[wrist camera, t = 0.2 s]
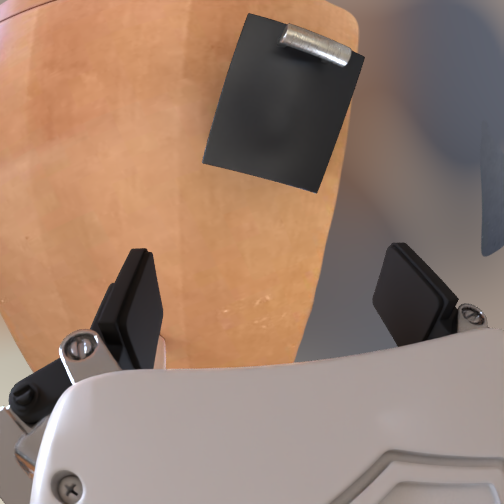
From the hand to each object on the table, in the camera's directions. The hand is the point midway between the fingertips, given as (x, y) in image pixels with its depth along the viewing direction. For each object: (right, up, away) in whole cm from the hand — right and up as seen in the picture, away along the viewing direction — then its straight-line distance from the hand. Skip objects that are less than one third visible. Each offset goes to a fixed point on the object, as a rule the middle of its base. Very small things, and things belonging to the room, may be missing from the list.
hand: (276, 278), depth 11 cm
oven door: (+2, +14, +12) cm, 18 cm away
